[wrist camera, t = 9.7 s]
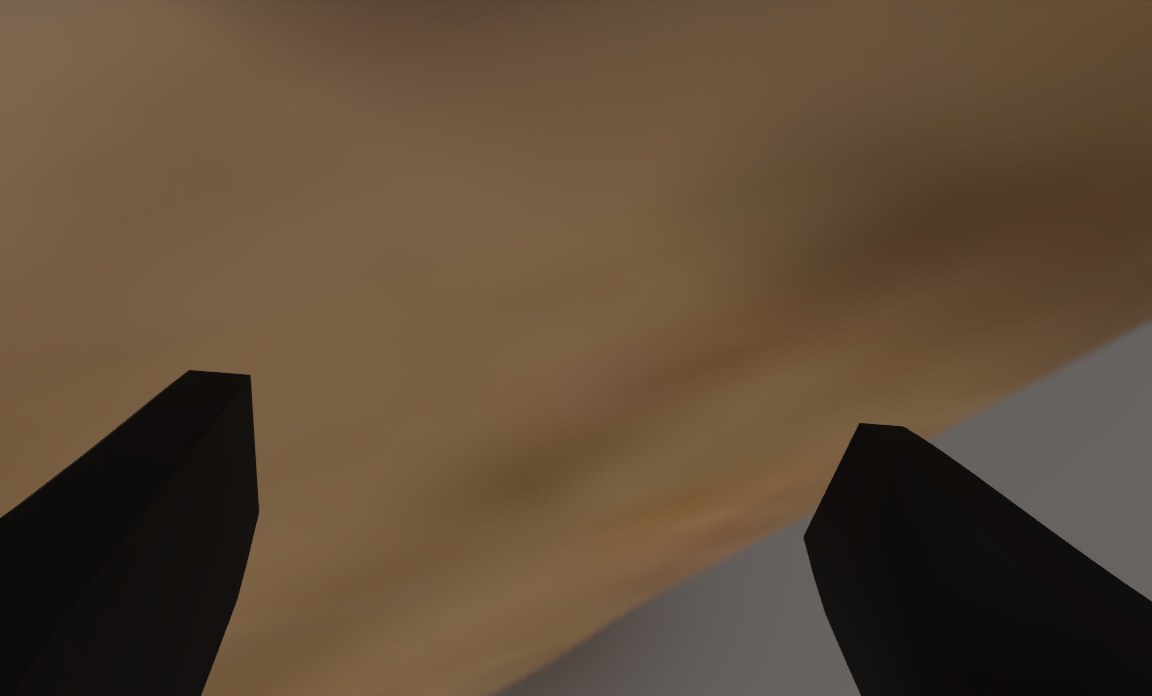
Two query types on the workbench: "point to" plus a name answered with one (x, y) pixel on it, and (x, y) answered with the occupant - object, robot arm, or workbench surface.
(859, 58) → the workbench surface
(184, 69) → the workbench surface
